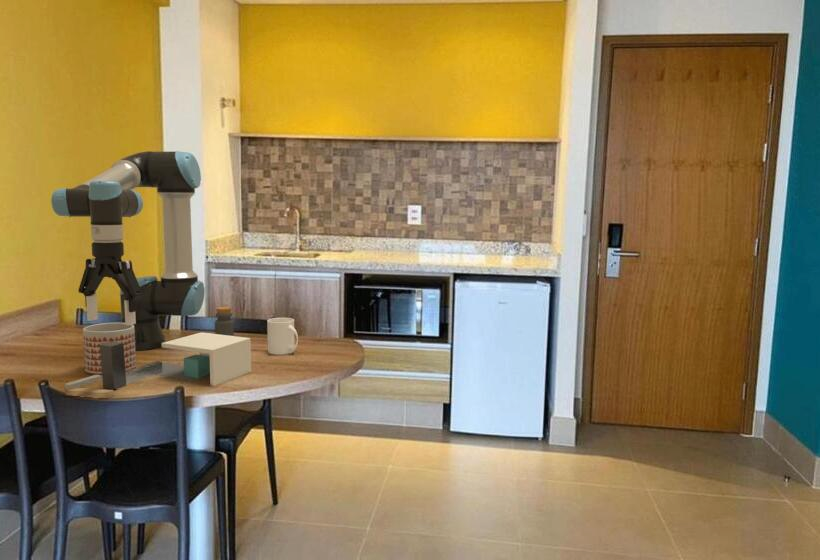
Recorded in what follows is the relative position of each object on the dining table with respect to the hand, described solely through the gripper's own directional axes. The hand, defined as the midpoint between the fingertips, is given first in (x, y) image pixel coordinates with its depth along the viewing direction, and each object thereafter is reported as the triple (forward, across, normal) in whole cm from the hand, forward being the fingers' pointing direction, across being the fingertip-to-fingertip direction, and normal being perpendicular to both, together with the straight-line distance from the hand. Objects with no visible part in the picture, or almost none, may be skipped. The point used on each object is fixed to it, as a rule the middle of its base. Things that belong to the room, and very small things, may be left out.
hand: (111, 322), depth 173 cm
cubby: (+18, +14, +20) cm, 30 cm away
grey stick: (+18, -11, -1) cm, 21 cm away
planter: (+18, -16, +13) cm, 27 cm away
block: (+17, +11, +19) cm, 28 cm away
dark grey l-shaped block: (+17, 0, +7) cm, 19 cm away
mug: (+18, +18, +52) cm, 58 cm away
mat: (+18, +4, +19) cm, 26 cm away
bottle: (+18, +1, +43) cm, 47 cm away
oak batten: (+18, 0, -8) cm, 20 cm away
